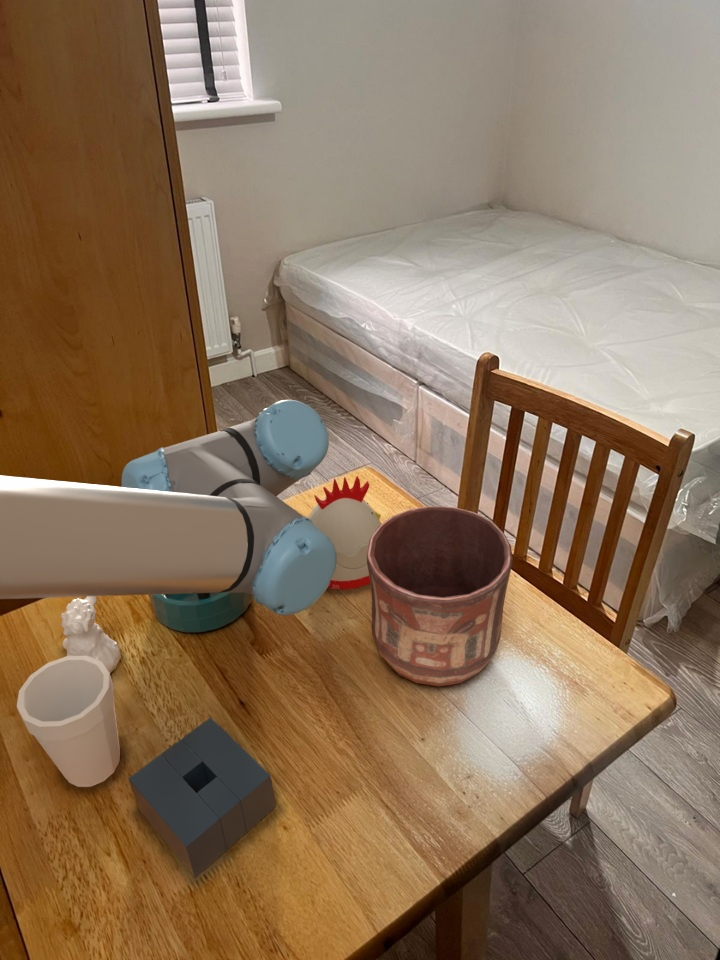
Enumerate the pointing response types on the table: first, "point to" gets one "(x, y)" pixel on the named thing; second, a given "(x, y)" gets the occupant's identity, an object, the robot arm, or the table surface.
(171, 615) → the bowl
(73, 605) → the white creature statuette
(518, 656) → the table surface
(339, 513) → the kitchen timer
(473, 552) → the pottery
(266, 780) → the holder
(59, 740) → the foam cup
